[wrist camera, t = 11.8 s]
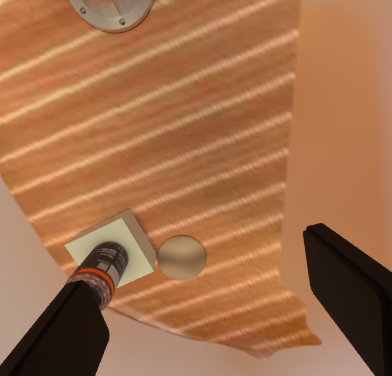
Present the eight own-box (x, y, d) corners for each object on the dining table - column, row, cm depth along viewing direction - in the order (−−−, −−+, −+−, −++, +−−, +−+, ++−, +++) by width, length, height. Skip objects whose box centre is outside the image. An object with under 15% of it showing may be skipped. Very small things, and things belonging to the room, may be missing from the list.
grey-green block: (80, 231, 40) (64, 245, 35) (130, 207, 39) (121, 217, 34) (110, 276, 43) (99, 295, 38) (158, 254, 42) (154, 271, 37)
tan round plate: (151, 242, 41) (150, 244, 41) (198, 229, 41) (198, 231, 40) (166, 283, 43) (166, 285, 43) (211, 271, 43) (211, 273, 42)
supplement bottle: (94, 274, 37) (52, 334, 26) (89, 240, 35) (43, 289, 24) (130, 273, 37) (104, 333, 26) (128, 240, 35) (98, 288, 24)
